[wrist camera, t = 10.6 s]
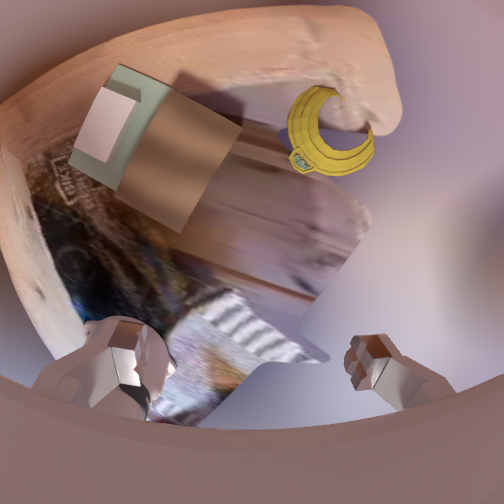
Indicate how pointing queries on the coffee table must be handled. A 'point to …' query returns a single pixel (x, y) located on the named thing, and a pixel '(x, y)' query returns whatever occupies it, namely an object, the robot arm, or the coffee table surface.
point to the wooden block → (176, 160)
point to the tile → (106, 124)
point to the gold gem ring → (313, 146)
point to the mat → (151, 100)
